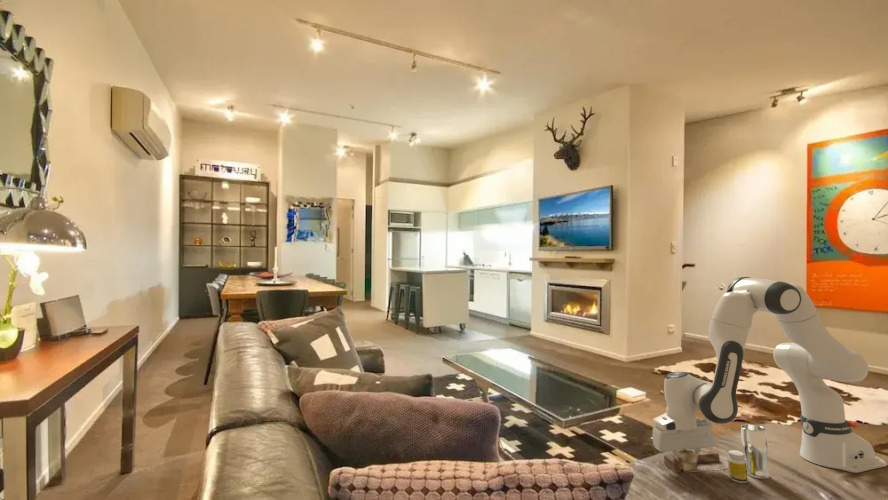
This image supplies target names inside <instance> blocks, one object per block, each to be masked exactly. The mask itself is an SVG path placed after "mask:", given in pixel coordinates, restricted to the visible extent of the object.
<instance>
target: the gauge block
mask: <svg viewBox="0 0 888 500" xmlns="http://www.w3.org/2000/svg"><path fill="white" fill-rule="evenodd" d="M693 451H694V450H693V449H686V450H677V453H676V455H677V456H679V457H680V458H681V463H680V467H681V471H683V472H688V471H698V462H696V453H695V452H693Z"/></svg>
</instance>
